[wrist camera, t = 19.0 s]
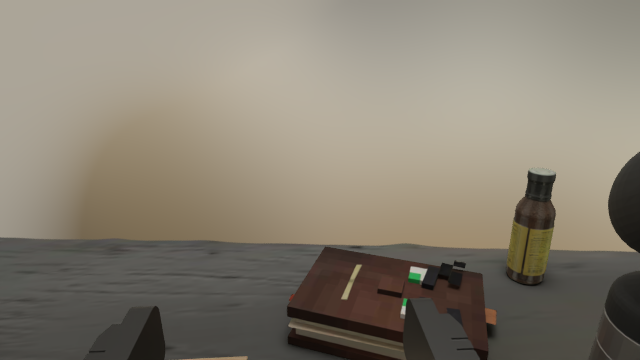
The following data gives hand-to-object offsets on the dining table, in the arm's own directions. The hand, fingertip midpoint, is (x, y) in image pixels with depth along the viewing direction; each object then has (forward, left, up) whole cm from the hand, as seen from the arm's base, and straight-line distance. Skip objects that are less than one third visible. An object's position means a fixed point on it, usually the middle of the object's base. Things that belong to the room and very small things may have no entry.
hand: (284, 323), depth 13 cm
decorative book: (+16, -37, -33) cm, 52 cm away
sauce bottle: (+5, -64, -32) cm, 71 cm away
